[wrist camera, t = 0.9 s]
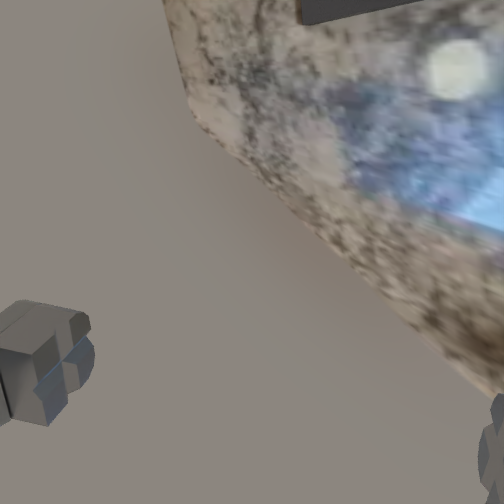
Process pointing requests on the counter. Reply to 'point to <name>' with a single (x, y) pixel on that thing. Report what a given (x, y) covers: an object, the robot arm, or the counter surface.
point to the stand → (342, 8)
